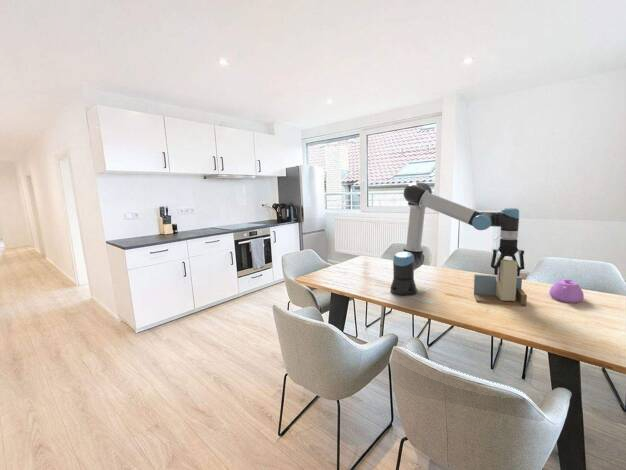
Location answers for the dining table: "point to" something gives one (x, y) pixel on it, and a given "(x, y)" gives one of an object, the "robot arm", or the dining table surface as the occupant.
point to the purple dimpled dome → (566, 291)
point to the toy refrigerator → (507, 280)
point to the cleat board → (487, 291)
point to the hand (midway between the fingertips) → (506, 281)
